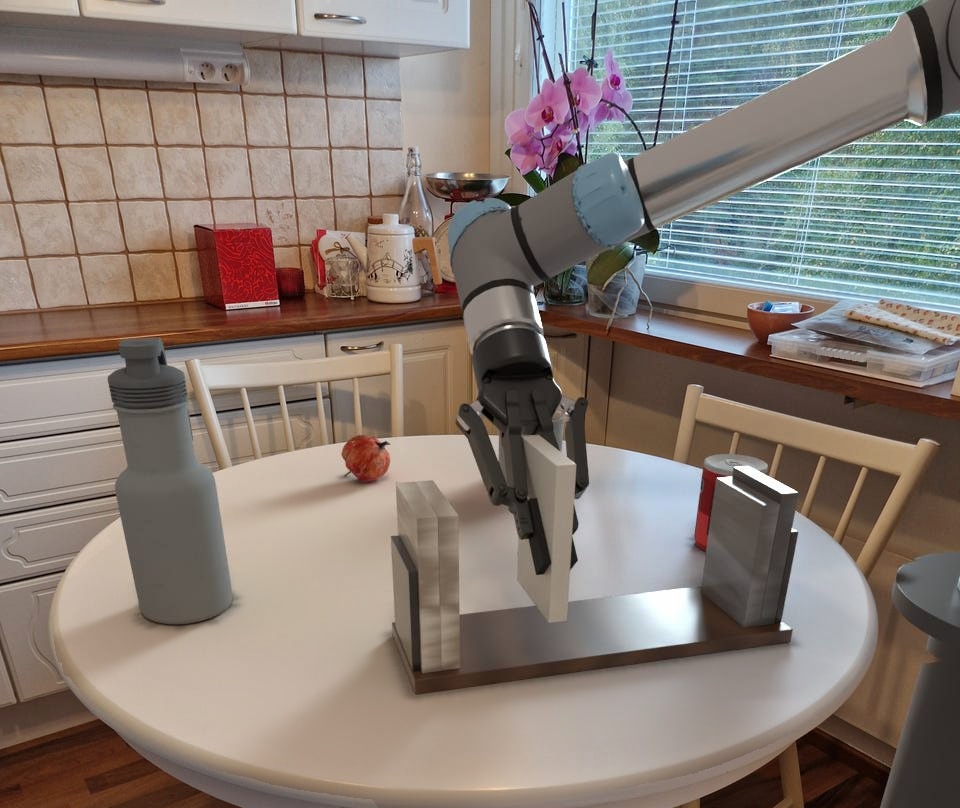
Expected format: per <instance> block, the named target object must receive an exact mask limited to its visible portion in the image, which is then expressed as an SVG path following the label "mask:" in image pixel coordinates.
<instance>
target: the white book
mask: <svg viewBox="0 0 960 808" xmlns="http://www.w3.org/2000/svg"><path fill="white" fill-rule="evenodd" d="M521 438H522V446H523V454H524V463H525V471H526V479H527V487H528V496H527V498H528V500H529V499H531V498H537V500H538V505H539V509H540V514H541V518H542V523H543V527H544V532H545V536H546V541H547V545H548V550H549V554H550V559H551V565H550V566H549V567H548V569H547V570H546V572H545V573H544V574H542V575H536V572H535V568H534V563H533V558H532V554H531V549H530V544H529V540H528V539H524V540H521V539H520V538H519V536H518V535H517V562H516V563H517V566H516V569H517V570H516V581H517V582H518V584H519V585H520V586H521V588H522V589H523V590H524V592H525V593H526V594H527V596H528V597H529V599H530V600H531V601H532V603H533V604H534V606H537V608H538V609H539V610H540V612H541V613H542V614H543V616H544V617H545V618H546V620H547V621H548V622H549V623H552V622H560V621H567V611H568V602H569V594H570V578H571V576H570V575H571V570H570V561H571V544H572V537H573V535H572V528H573V511H574V506H575V499H574V495H575V478H576V464H575V463H574V462H573V461H571V460H570V459H569V458H568V457H567V455H566V454H564V453H563V452H562V453H561V452H560V451H559V450H557V449H556V448H555V447H554V446H552V445H551V444H550V443H549V442H547V441H546V440H545V439H543V438H542V437H541V436H540V435H528V436H521Z"/></svg>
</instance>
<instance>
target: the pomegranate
mask: <svg viewBox="0 0 960 808" xmlns="http://www.w3.org/2000/svg"><path fill="white" fill-rule="evenodd" d="M390 445H391V443H390V442H388V440H385V441H382V442H381V440H379V439H378V438H377V437H375V436H368V435H365V434H357V435H355V436H352V437H351V438H350V439H348V440H347V442H346V443H345V444H344V445H343V447H342V450H341V454H340V455H341V457H342V459H343V460H344V463H345V467H346V468H347V470H348V472H346V474H343V476H344V478H346V477H347V476H348V475H350V474H351V473H352V475H354V476H355V477H356V479H357V480H358V481H360V482H363V483H372V482H374V481H376V480H377V479H379V478H381V477H383V476H384V475H385V474H386V473H387V472H388V470H389V468H390V464H391V455H390V453H389V451H388V449H386V446H390Z"/></svg>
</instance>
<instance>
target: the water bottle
mask: <svg viewBox="0 0 960 808" xmlns="http://www.w3.org/2000/svg"><path fill="white" fill-rule="evenodd" d="M117 345H118V350H119V356H120V359H124V362H125V367H121V368H119V369H116V370H114V371H112V372H111V373H110V374H109V375H108V376H107V384H108V389H109V393H110V398H111V403H113V404H112V408H113V409H114V411H116V415H117V419H118V424H119V430H120V434H121V440H122V444H123V449H124V454H125V461H126V465H127V466H126V468H125V469H124V470H123V471H121V472H120V474H119V475H118V477H117V478H116V481H115V484H114V490H115V491H114V492H115V496H116V497H115V498H116V502H117V506H118V512H119V516H120V521H121V526H122V530H123V535H124V539H125V545H126V550H127V554H128V559H129V564H130V569H131V573H132V578H133V584H134V587H135V592H136V597H137V601H138V607H139V609H140V612H141V613H142V614H143V616H144V617H146V618H147V619H149V620H150V621H153V622H155V623H160V624H165V625H189V624H195V623H199V622H203V621H206V620H210V619H211V618H214V617H216V616H218V615H220V614H221V613H223V612H224V611H225V610H227V608H229V606H230V605H231V603H232V600H233V595H234V593H233V587H232V582H231V581H232V580H231V574H230V569H229V560H228V555H227V549H226V542H225V536H224V529H223V522H222V515H221V509H220V502H219V495H218V489H217V483H216V478H215V476H214V474H213V472H212V470H211V469H210V468H208V467H207V466H206V465H205V464H203V463H201V462H199V461H198V460H197V458H196V453H195V448H194V435H193V429H192V423H191V416H190V410H189V408H188V405H189V404H190V400H189V398H188V397H189V393H188V389H187V384H186V383H187V382H186V376H185V375H186V374H185V372H184V371H183V370H181V369H179V368H177V367H176V366H173V365H168V359H167V355H166V351H165V347H164V343H163V340H162V337H141V338H140V337H139V338H123V339H122V340H121V341H120V342H119V343H118V344H117Z"/></svg>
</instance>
